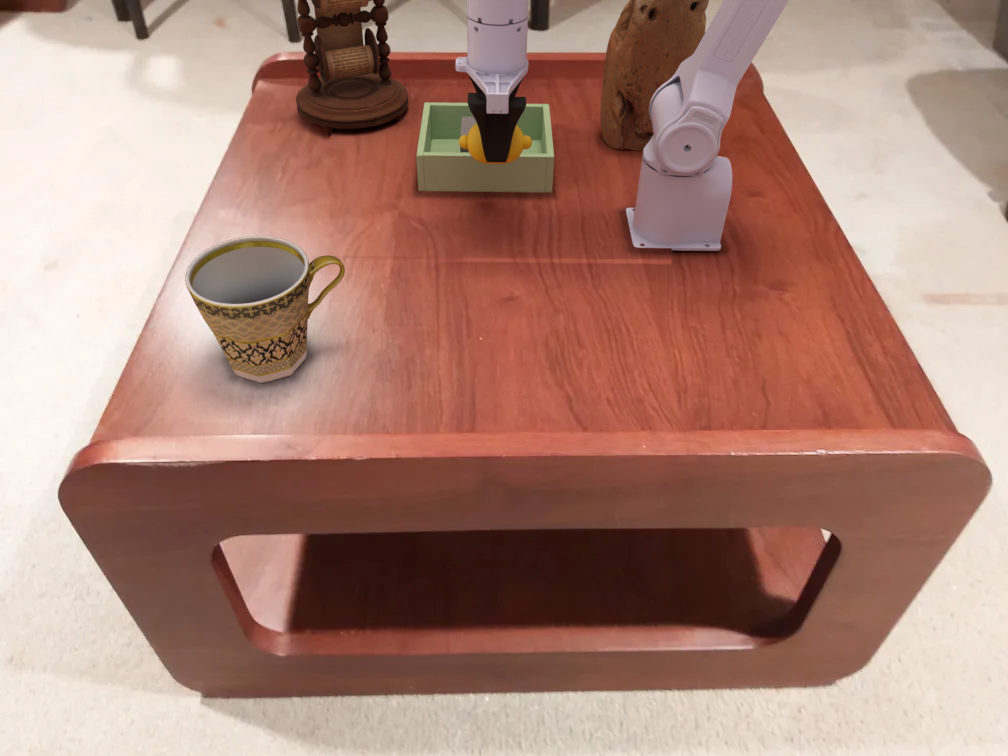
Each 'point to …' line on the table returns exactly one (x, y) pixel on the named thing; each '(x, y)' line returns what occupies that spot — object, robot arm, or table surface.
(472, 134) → the lemon
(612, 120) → the brown upright lump
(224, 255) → the ceramic cup
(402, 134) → the table surface
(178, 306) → the table surface
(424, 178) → the crate
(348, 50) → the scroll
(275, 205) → the table surface
